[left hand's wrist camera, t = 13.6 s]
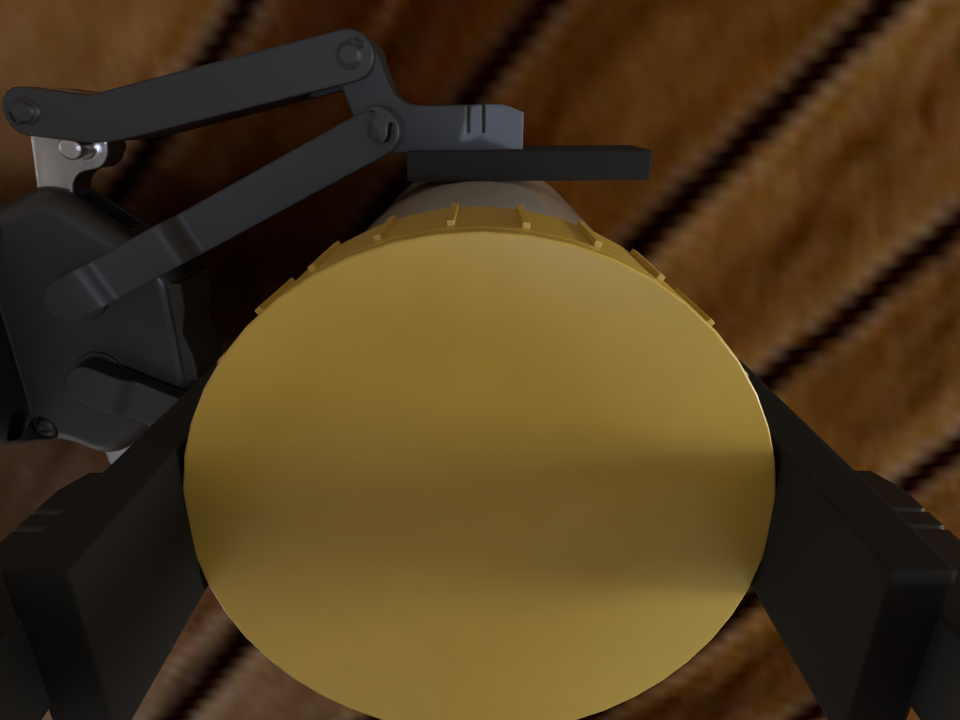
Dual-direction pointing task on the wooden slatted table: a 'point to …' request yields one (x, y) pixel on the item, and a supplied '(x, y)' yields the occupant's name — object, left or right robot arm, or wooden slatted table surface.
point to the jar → (479, 198)
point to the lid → (479, 472)
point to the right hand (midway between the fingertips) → (625, 320)
